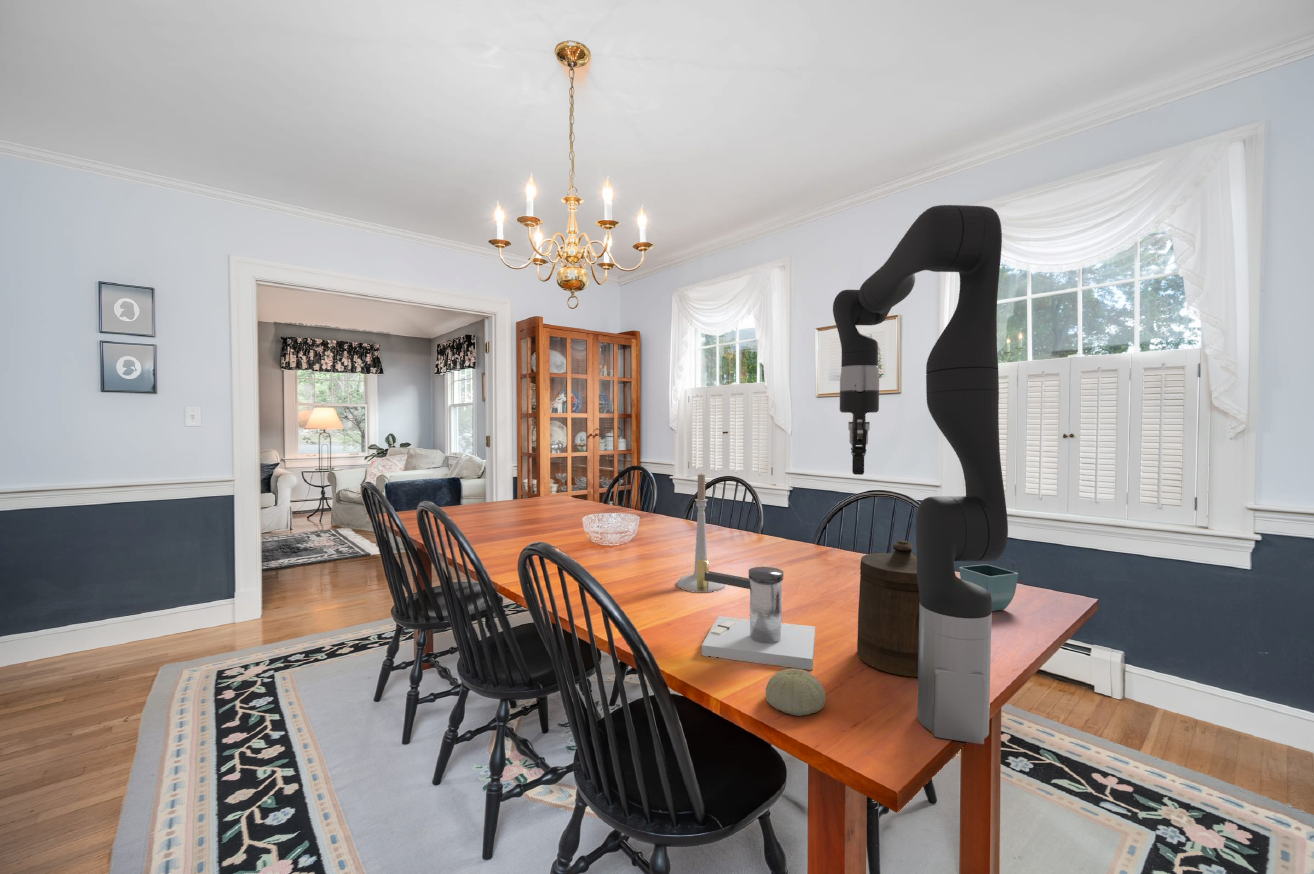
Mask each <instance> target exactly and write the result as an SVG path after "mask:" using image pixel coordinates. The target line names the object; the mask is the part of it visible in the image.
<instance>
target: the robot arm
mask: <svg viewBox="0 0 1314 874" xmlns="http://www.w3.org/2000/svg"><path fill="white" fill-rule="evenodd" d="M1002 232H1003V231H1002V221H1001V218H1000V216H999V214H998V212H997V211H996V210H995V209H994V208H992V207H989V206H987V205H986V206H984V205H966V204H965V205H964V204H963V205H962V204H939V205H933V206H931V207H929V208H927V209H926V210H924V211H923V212H922V213H921V214H920V215H919V216H918V217H917V218H916V219H915V221H913V223H911V225H910V226H909V229H908V230H907V231H906V232H905V234H904V235H903V236H902V238H901V240H899V241H898V244H896V247H895V248H894V250H893V251H892V252H891V254H890V255H889V257H888V259H887V260H886V261H885V262H884V263H883V264H882V266H880V267H879V268H878V269H877V270H876V271H875V272H874V273H872V274H871V275H870V276H869V277H868V278H867V279H866V280H865V281H864V282H863V283H862V284H861V285H860V288H859V289H843V290H840V291H839V292H838V294H836V296H835V298H834V300H833V304H832V314H833V320H834V321H835V322H834V323H835V327H836V329H837V334H838V337H839V342H840V348H841V364H840V365H841V366H840V367H841V368H840V376H839V412H840V413H842V414H843V413H844V414H847V413H850V414H852V421H848V431H849V444H850V445H851V447H850V450H851V452H850V453H851V457H852V466H851V468H852V474H853V475H858V476H859V475H860V476H861V475H862V476H863V475H864V473H865V456H866V454H867V445H868V443H869V431H870V427H871V426H870V423H871V422H870V421H867V420H866V415H867V413H878V412H880V411H879V409H880V373H879V342H878V340H877V339H876V338H874V337H872V336H868V335H864V334H862V333H860V331H859V330H858V329H857V326H876V325H879V324H881V323H883V322H885V320H887V317H888V315H889V313H890V311H891V310H892V308H893V307H895V306H896V305H897V304H899V303H901V302H903V300H905V299H906V298H907V297H908V296H909V295H910V294H911V292H912V290H914V287H915V284H916V274H917V273H920V272H922V271H923V272H924V271H929V272H933V273H940V272H941V273H958V274H959V293H958V300H957V305H956V307H955V310H954V312H953V314H952V315H951V316H952V317H951V318H950V320H949V322H948V323H947V325H946V327H945V328H944V329H943V331H942V333H941V334H940V336H939V337H938V339H937V340H936V342H935V344H934V345H933V347H932V349H931V350H930V352H929V355H928V358H927V361H926V365H925V367H926V368H925V369H926V370H925V374H926V375H925V376H926V377H925V379H926V380H925V383H926V384H925V385H926V386H925V388H926V389H925V391H926V392H925V393H926V405H927V408H928V412H929V413H930V415H931V417H932V419H933V421H934V422H935V424H936V426H937V427H938V430H940V431H941V433H942V435H943V436H944V438H946V440H947V442H948V443H949V445H950V446H951V448H952V449H953V451H954V452H955V454H956V456H957V458H958V461H959V462H960V465H961V468H962V473H963V477H964V485H965V486H964V487H965V495H963V496H962V495H960V496H958V495H957V496H955V495H953V496H952V495H951V496H950V495H949V496H947V495H946V496H943V495H942V496H941V495H940V496H928V497H925V498H923V500H922V501H921V502H920V503H919V504H918V507H917V510H916V515H915V525H914V527H915V547H916V556H917V580H918V586H919V648H918V677H917V719H918V722H919V723H920V724H921V725H922V726H923V727H924V728H925V729H927V730H929V732H931V733H932V734H933V736H934V737H935V738H940V739H946V740H952V741H959V742H965V743H966V742H967V743H971V744H972V743H973V744H979V745H984V744H985V739H987V738H988V737H989V735H990V710H991V709H990V707H991V705H990V702H991V701H990V700H991V699H990V698H991V654H992V620H993V619H992V615H993V613H992V612H993V611H992V598H991V595H990V593H989V592H988V591H987V590H986V589H984V588H983V587H981V586H979V585H976V584H974V583H971V582H968V581H965V580H962V579H961V578H959V577H958V576H957V575H956V570H955V569H956V568H955V562H993V561H997V560H998V559H1000V558H1001V557H1002V556H1003V555H1004V553H1005V551H1006V547H1007V544H1008V539H1009V538H1008V536H1009V522H1008V513H1007V501H1006V495H1005V487H1004V479H1003V472H1002V471H1003V470H1002V462H1001V449H1000V425H999V424H1000V422H999V421H1000V417H999V409H1000V408H999V407H1000V406H999V403H1000V402H999V401H1000V399H999V398H1000V385H999V384H1000V382H999V380H1000V379H999V378H1000V377H999V375H1000V374H999V359H998V336H997V335H998V334H997V333H998V331H997V330H998V324H997V323H998V322H997V321H998V319H997V318H998V292H999V281H1000V271H1001V262H1002V261H1001V259H1002V258H1001V257H1002V246H1003V245H1002V244H1003V233H1002Z"/></svg>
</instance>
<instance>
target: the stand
mask: <svg viewBox="0 0 1314 874" xmlns="http://www.w3.org/2000/svg"><path fill="white" fill-rule="evenodd" d="M815 641H816V626H814V625H813V626H812V625H803V624H802V625H801V624H795V623H784V622H782V626H781V639H780V640H779V641H776V642H761V641H757V640H754V639H752V638H751V637H750V618H749V619H748V618H741V617H740V618H738V617H730V616H720V615H718V616H717V617H716V619H715V621H714V623H713V625H712V627H711V628H710V630H709V632H708V633H707V635H706V636H705V638H704V640H703V642H702V644H701V656H702V655H703V656H702V657H708V656H711V657H710V658H716V657H719V658H718V659H725V660H732V661H733V660H734V661H740V662H748V663H755V664H760V665H761V664H764V665H770V666H778V667H786V668H791V669H799V670H806V671H813V668H814V667H813V666H814V656H815V654H814V653H815Z"/></svg>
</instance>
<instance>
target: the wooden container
mask: <svg viewBox="0 0 1314 874" xmlns="http://www.w3.org/2000/svg"><path fill="white" fill-rule="evenodd" d="M892 549H893V550H894V551H893V552H877V553H868V554H865V555H862V556H861V558H860V565H859V566H860V568H859V571H860V572H859V575H860V576H859V580H860V581H859V595H858V612H857V640H856V641H857V642H856V643H857V644H856V645H857V646H856V647H857V648H856V649H857V651H856V653H857V656H858V657H859V659H860V660H861V661H862V662H863V663H865V664H867V665H868V666H869V667H873V668H874V669H876V670H879V671H881V672H885V673H889V674H893V675H898V676H902V677H910V678H911V677H913V678H918V648H919V586H918V580H917V555H914V554H913V553H912V551H913V544H912V543H911V542H909V541H908V540H904V539H902V540H897V541H895V542H894V543H893V544H892Z"/></svg>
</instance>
